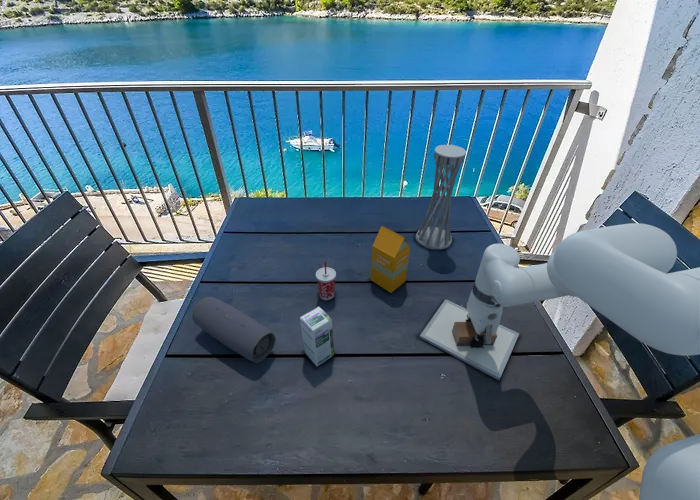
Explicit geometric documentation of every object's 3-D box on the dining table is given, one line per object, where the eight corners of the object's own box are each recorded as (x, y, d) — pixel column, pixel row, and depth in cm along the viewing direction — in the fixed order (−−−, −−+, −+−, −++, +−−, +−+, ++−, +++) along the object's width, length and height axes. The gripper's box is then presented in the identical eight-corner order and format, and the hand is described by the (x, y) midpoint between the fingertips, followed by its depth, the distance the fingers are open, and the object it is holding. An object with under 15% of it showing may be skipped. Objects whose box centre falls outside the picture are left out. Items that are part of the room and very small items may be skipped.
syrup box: (316, 367, 89) (313, 331, 80) (303, 352, 93) (299, 316, 84) (334, 355, 92) (332, 319, 83) (321, 341, 96) (318, 305, 86)
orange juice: (391, 293, 110) (396, 243, 97) (370, 280, 115) (372, 230, 102) (405, 281, 114) (412, 231, 102) (385, 268, 119) (389, 219, 107)
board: (518, 335, 97) (519, 333, 96) (498, 380, 86) (500, 378, 86) (444, 301, 107) (445, 299, 107) (419, 337, 96) (419, 335, 96)
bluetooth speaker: (279, 347, 94) (274, 323, 88) (254, 373, 88) (247, 349, 82) (222, 312, 104) (214, 288, 97) (196, 333, 97) (185, 309, 91)
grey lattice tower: (449, 252, 126) (471, 161, 104) (413, 245, 129) (426, 156, 107) (453, 232, 136) (473, 145, 114) (418, 226, 139) (432, 140, 117)
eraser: (493, 345, 93) (497, 335, 91) (456, 346, 93) (459, 336, 91) (487, 330, 97) (490, 320, 95) (451, 331, 97) (454, 321, 94)
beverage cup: (313, 298, 108) (310, 264, 99) (323, 285, 112) (320, 252, 104) (331, 304, 106) (329, 270, 97) (340, 291, 110) (339, 257, 102)
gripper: (519, 317, 77) (497, 364, 89) (492, 267, 91) (476, 313, 102) (486, 318, 77) (468, 365, 88) (463, 267, 90) (450, 314, 102)
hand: (472, 337), depth 95 cm, fingers closed on eraser, 5 cm apart
